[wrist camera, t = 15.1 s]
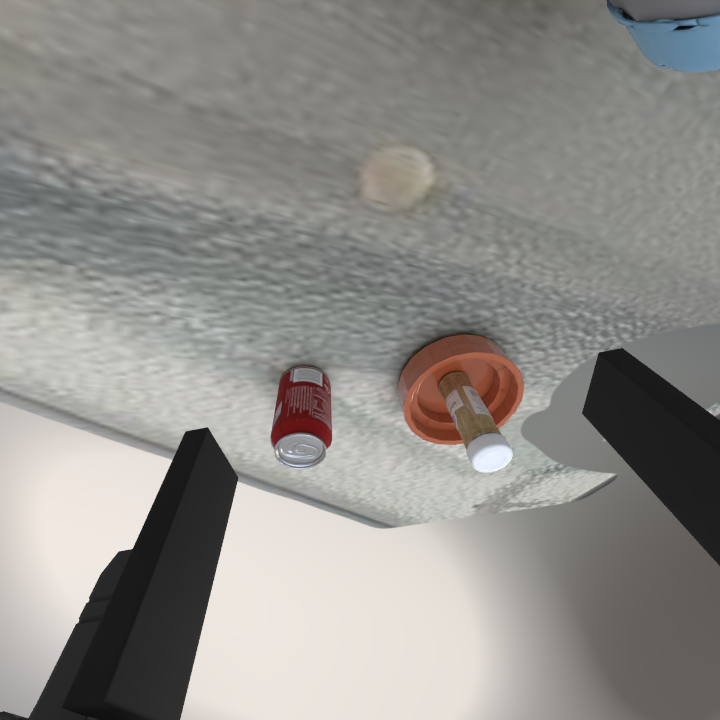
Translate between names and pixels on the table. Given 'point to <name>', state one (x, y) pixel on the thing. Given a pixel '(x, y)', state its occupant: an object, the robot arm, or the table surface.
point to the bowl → (486, 373)
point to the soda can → (302, 418)
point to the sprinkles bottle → (474, 424)
